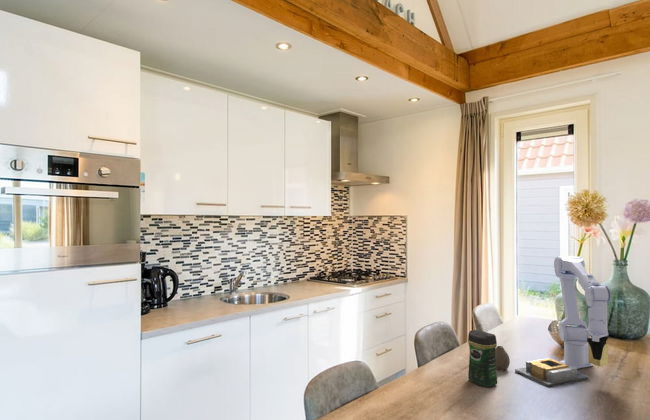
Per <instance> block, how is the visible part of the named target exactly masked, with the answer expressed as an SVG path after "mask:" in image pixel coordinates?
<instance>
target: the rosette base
mask: <svg viewBox="0 0 650 420" xmlns="http://www.w3.org/2000/svg"><path fill="white" fill-rule="evenodd" d="M514 372H515V373H516V374H519V375H521V376H523V377H525V378H527V379H530V380H531V381H535V382H537V383H538V384H540V385H543V386H545V387H547V388H552V387H553V388H554V387H556V386H557V387H558V386H563V385H566V384H567V385H568V384H571V383H576V382H577V383H578V382H581V381H587V380H589V376H588V375H585V374H583V373H580V372H578V369H577V368H574V367H572V366H569V365H566V364H564V363H561V362H559V361H558V360H557V359H553V358H550V357H545V358H539V359H533V360H528V361H525V367H522V368H517V369H516V368H515V370H514Z"/></svg>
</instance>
